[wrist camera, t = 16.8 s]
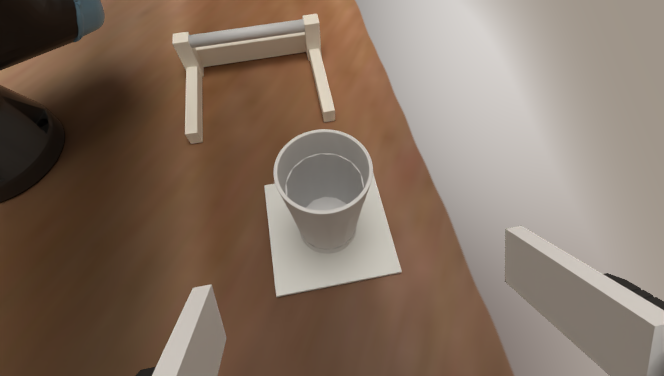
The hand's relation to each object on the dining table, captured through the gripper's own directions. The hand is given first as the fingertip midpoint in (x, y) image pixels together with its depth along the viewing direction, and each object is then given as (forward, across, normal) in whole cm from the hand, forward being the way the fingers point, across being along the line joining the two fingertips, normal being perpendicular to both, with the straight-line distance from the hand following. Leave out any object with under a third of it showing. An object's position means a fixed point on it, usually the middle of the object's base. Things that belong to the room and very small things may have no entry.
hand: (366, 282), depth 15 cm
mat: (+22, 0, -7) cm, 24 cm away
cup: (+22, 0, -7) cm, 23 cm away
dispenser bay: (+38, -6, +8) cm, 40 cm away
